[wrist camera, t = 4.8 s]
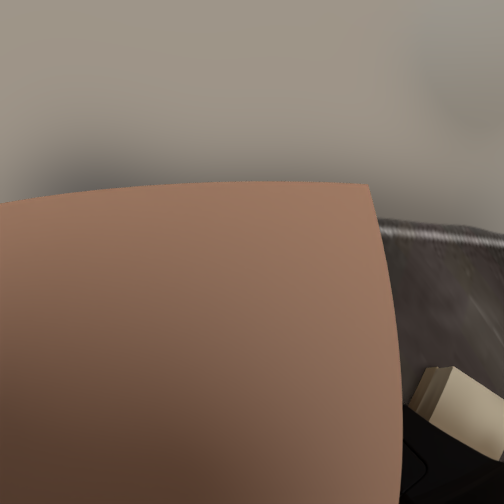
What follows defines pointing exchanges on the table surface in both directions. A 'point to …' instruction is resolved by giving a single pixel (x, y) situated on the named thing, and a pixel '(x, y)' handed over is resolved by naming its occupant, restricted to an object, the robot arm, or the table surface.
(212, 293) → the column
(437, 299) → the table surface
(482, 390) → the top slab
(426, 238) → the table surface
